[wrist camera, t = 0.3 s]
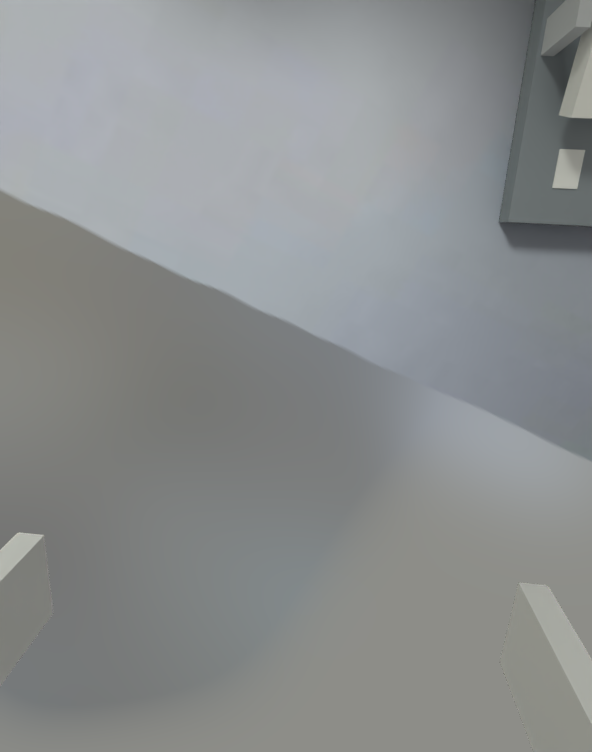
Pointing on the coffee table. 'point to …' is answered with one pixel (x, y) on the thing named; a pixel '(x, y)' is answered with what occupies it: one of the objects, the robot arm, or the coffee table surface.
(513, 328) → the coffee table surface
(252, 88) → the coffee table surface
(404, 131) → the coffee table surface
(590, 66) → the block
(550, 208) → the panel
